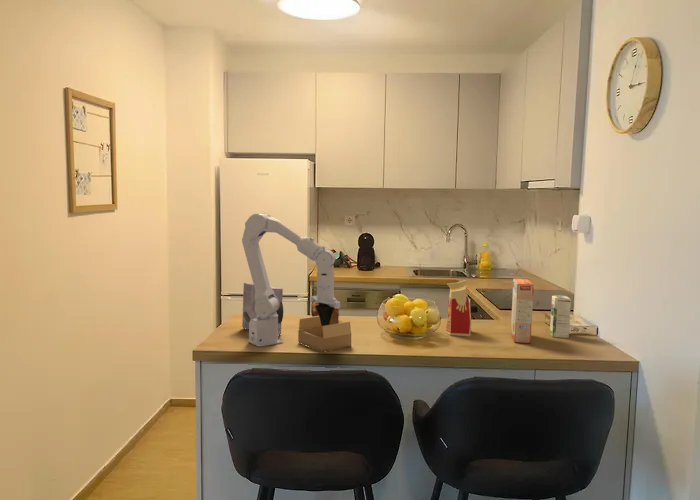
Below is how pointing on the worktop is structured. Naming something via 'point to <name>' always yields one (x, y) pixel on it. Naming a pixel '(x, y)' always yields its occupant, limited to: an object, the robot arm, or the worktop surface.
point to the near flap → (336, 330)
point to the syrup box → (560, 316)
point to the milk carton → (458, 310)
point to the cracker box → (522, 310)
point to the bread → (334, 316)
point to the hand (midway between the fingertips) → (325, 326)
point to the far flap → (309, 322)
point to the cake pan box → (250, 305)
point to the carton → (322, 340)
